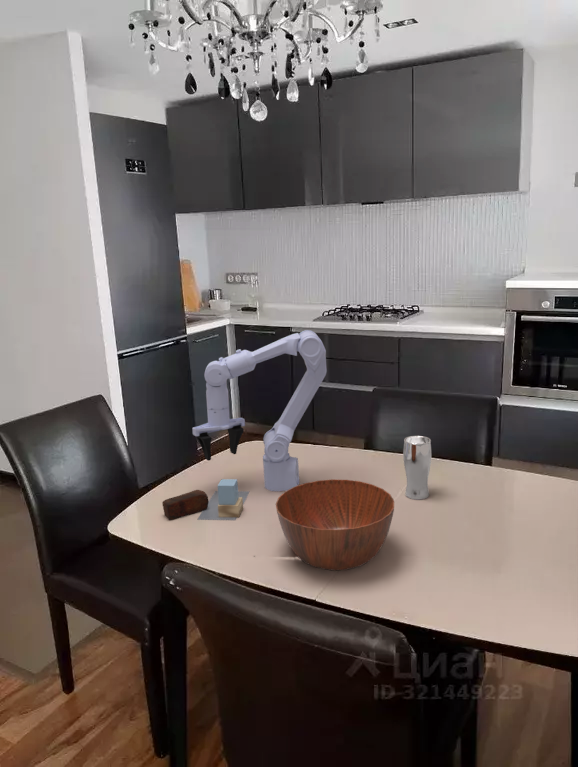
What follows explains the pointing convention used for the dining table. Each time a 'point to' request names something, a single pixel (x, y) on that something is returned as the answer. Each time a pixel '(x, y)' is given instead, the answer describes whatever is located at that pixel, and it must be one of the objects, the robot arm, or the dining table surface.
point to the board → (212, 508)
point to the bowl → (335, 522)
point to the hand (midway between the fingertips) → (220, 456)
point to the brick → (185, 504)
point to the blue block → (228, 491)
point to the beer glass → (417, 466)
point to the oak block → (231, 509)
